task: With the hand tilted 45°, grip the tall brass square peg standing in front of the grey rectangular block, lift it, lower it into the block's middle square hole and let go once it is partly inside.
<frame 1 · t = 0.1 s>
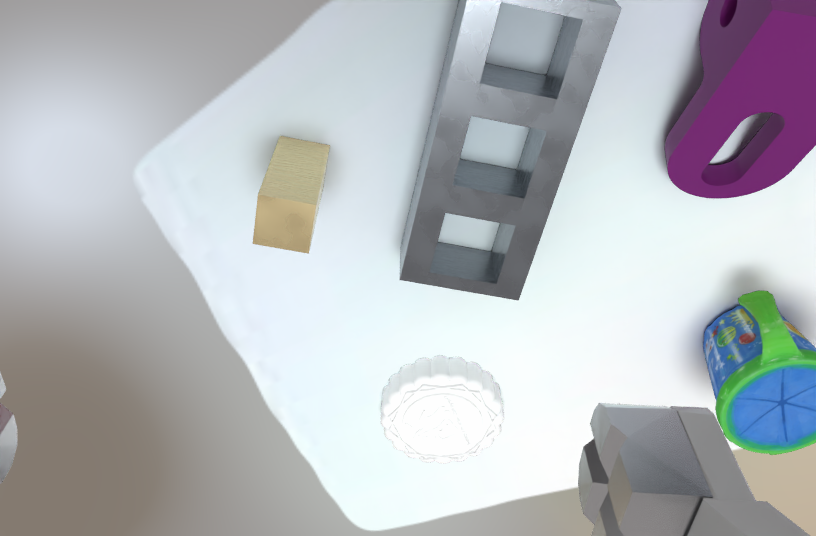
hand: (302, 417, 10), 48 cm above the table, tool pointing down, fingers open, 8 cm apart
mounting bracket: (740, 77, 57), on the table
brass peg: (301, 163, 61), on the table
mooncake: (441, 398, 75), on the table
grey rectangular block: (492, 131, 59), on the table
snack cup: (740, 331, 70), on the table
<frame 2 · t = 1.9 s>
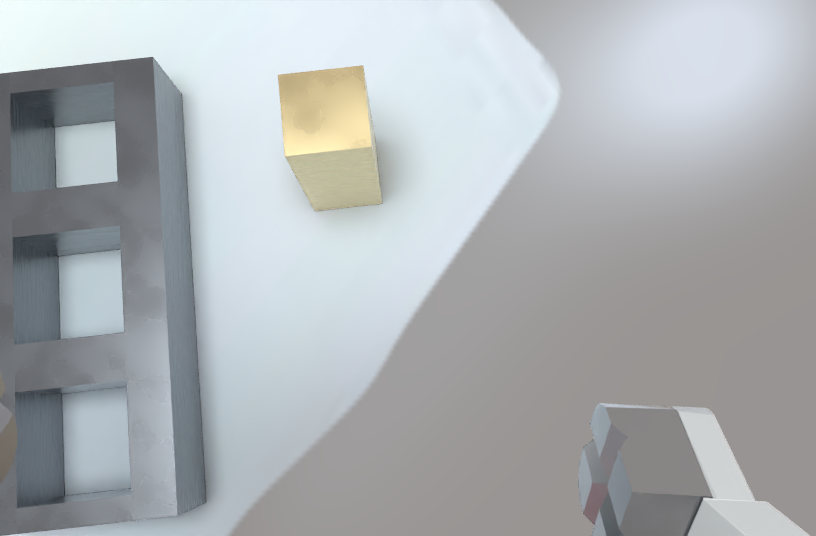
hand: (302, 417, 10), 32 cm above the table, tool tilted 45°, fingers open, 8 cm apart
brass peg: (345, 174, 45), on the table
grey rectangular block: (107, 297, 44), on the table
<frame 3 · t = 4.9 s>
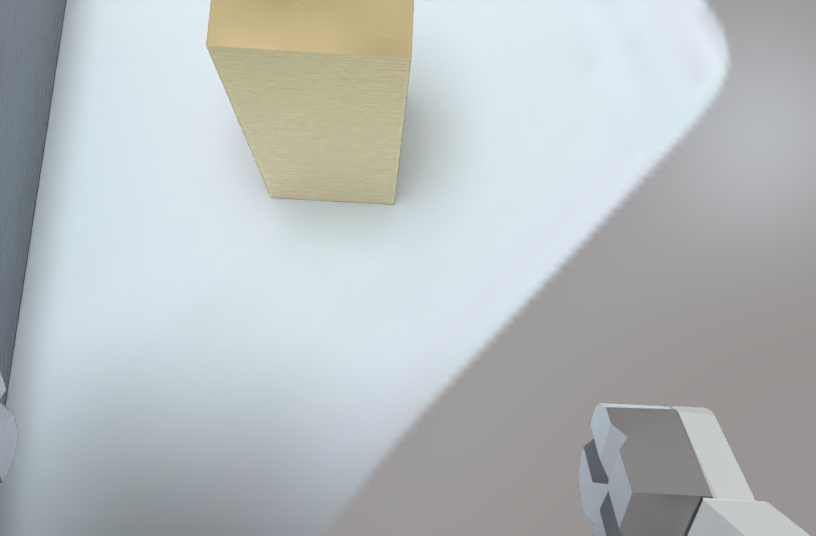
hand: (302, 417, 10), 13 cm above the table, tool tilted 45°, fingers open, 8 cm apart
brass peg: (336, 143, 25), on the table
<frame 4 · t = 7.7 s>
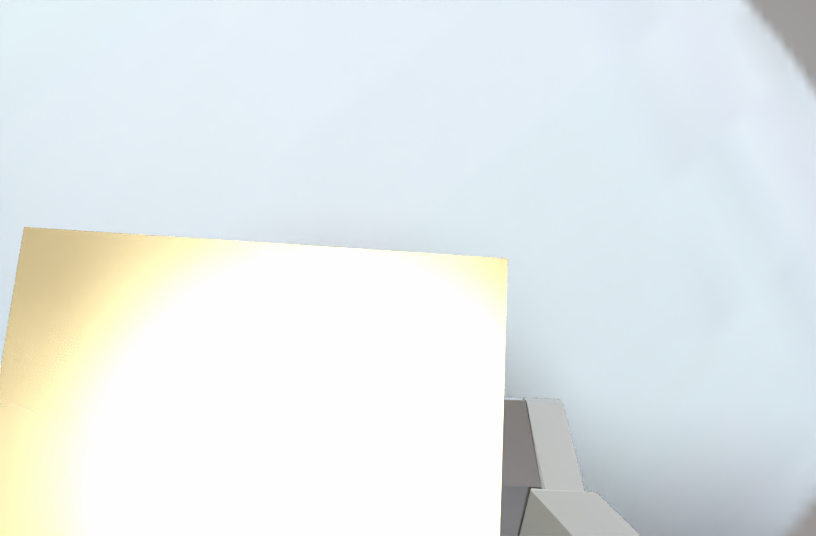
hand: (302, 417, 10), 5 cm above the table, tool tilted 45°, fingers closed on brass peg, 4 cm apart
brass peg: (323, 450, 16), on the table, touching gripper
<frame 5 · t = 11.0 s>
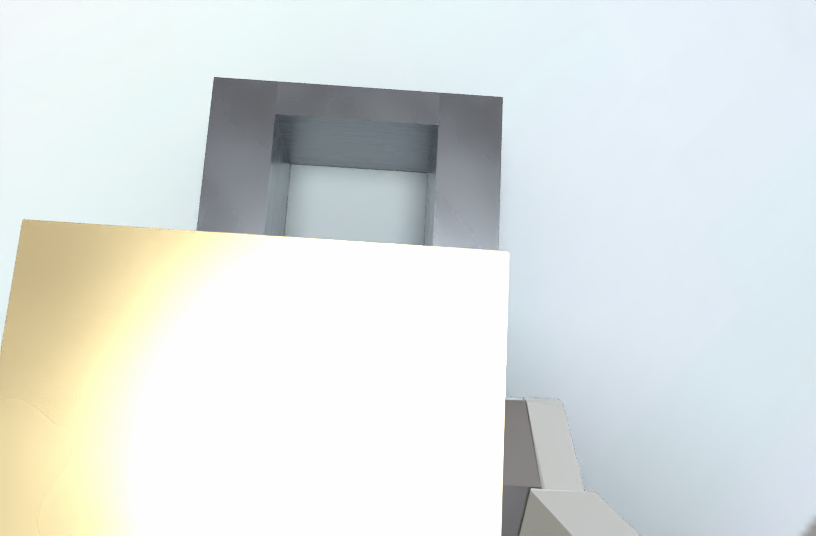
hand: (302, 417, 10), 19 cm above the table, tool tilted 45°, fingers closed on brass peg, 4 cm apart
brass peg: (323, 447, 16), point 13 cm above the table, touching gripper
grey rectangular block: (340, 439, 28), on the table
when the fingers open (8 cm above the table, at t = 14.4 s): brass peg drops 2 cm, resting in grey rectangular block.
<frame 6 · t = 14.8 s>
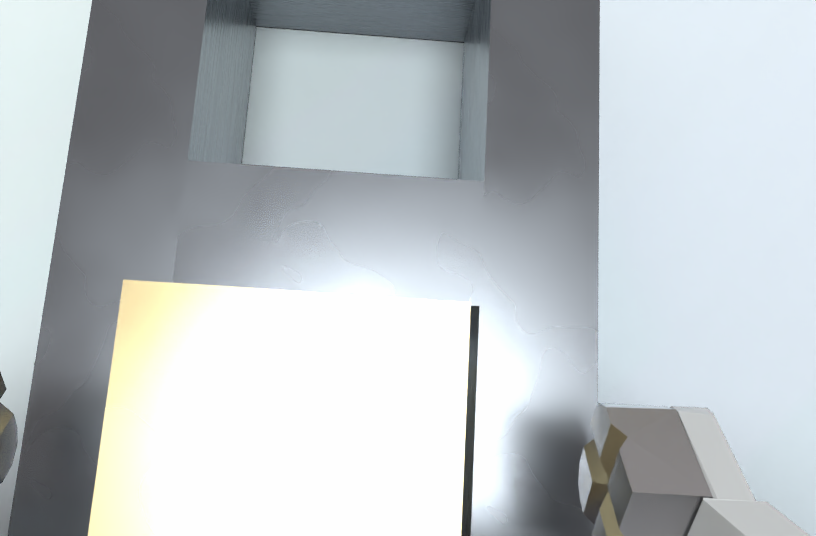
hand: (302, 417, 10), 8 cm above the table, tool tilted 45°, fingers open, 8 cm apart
brass peg: (329, 444, 18), resting in grey rectangular block
grey rectangular block: (329, 445, 18), on the table
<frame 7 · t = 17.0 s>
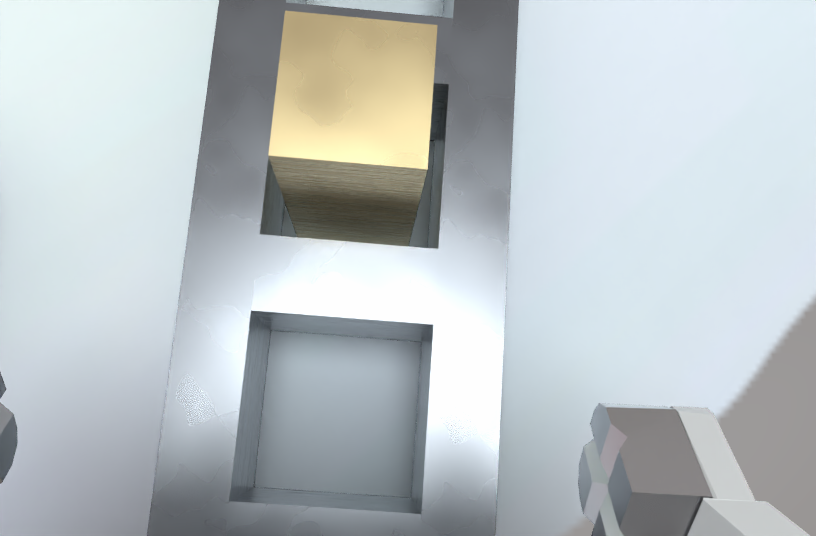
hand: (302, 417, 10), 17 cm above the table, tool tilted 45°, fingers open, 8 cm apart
brass peg: (357, 201, 29), resting in grey rectangular block
grey rectangular block: (358, 202, 29), on the table
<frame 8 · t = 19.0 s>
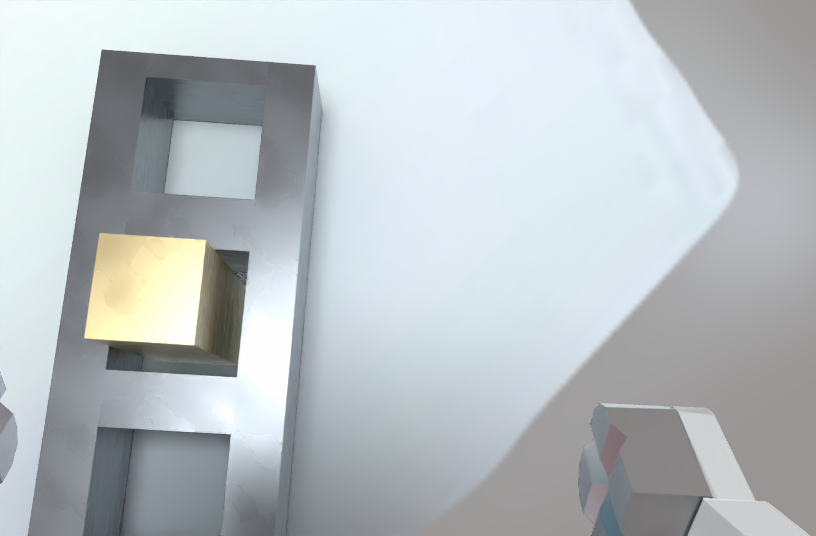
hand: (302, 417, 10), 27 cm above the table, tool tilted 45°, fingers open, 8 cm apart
brass peg: (203, 323, 38), resting in grey rectangular block
grey rectangular block: (203, 324, 38), on the table
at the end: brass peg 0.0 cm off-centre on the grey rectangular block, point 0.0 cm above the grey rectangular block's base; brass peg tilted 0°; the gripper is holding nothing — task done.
